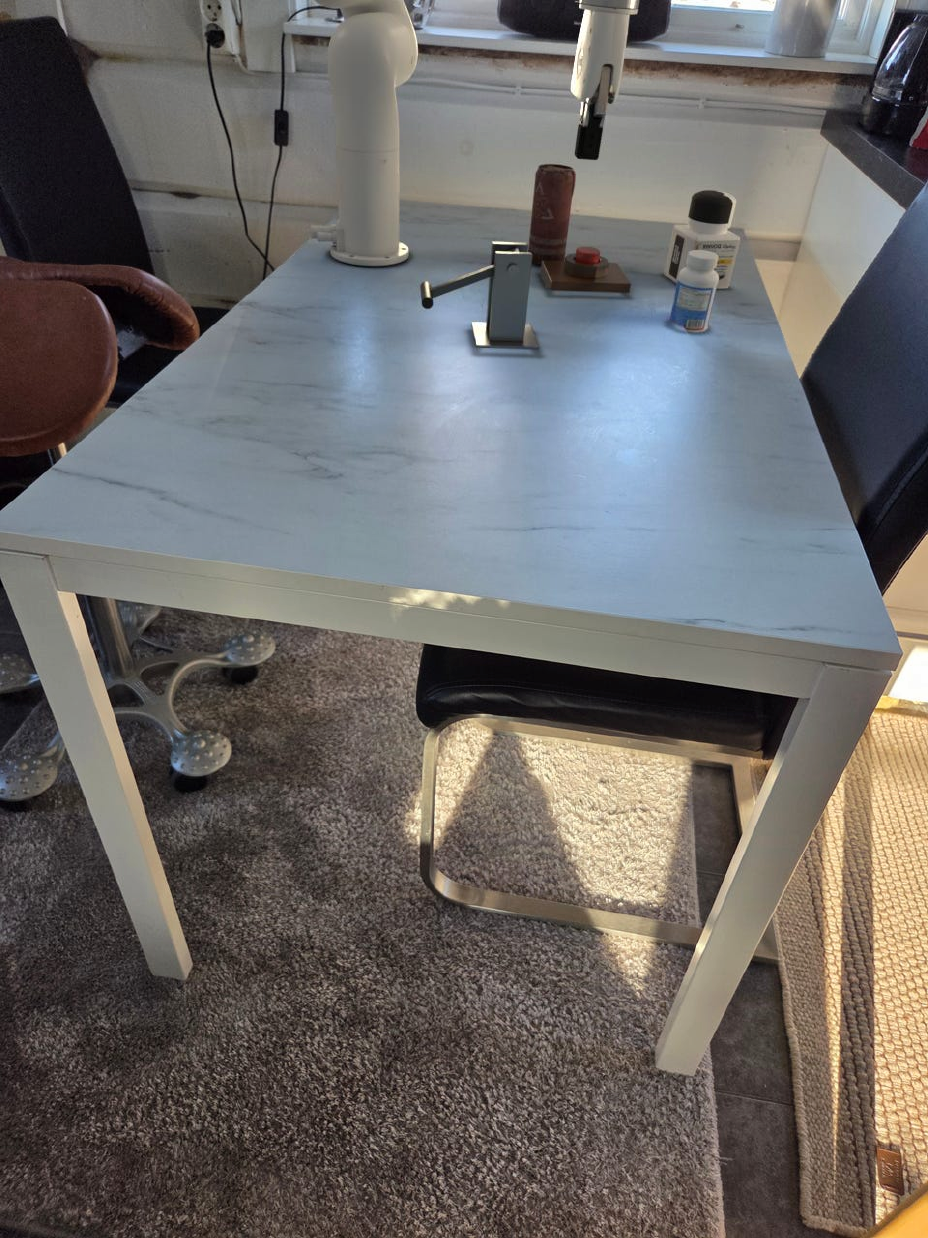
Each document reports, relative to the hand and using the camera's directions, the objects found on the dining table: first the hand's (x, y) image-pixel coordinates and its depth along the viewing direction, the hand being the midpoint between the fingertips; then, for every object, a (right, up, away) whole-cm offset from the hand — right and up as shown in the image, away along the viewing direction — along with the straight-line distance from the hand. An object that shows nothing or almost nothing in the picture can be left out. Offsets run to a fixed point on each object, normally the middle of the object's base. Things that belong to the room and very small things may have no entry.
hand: (586, 157), depth 117 cm
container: (+20, -12, +15) cm, 28 cm away
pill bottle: (+14, -24, -1) cm, 28 cm away
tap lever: (-16, -24, -14) cm, 32 cm away
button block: (+1, -14, +10) cm, 17 cm away
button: (+1, -11, +8) cm, 14 cm away
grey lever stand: (-12, -29, -9) cm, 33 cm away
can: (-4, -7, +19) cm, 21 cm away
